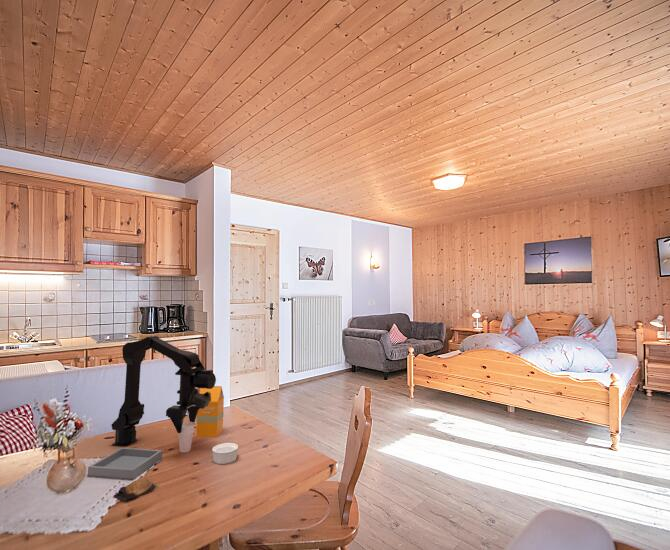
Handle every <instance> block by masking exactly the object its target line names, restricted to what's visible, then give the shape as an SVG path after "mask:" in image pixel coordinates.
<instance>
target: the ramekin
mask: <svg viewBox="0 0 670 550" xmlns="http://www.w3.org/2000/svg"><path fill="white" fill-rule="evenodd" d="M238 449H239V445H238V444H237V443H233V442H225V443H220V444H217V445H214V446H213V447H212V449H211V451H212V458H213V459H212V460H213V462H214V464H217V465H226V464H227V465H228V464H231V463H234V462H235V461H236V460H237V457H238V456H237V455H238Z"/></svg>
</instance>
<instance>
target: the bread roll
mask: <svg viewBox="0 0 670 550" xmlns="http://www.w3.org/2000/svg"><path fill="white" fill-rule="evenodd" d="M159 487H160V485H159V484H155V483H153V482H152V481H150V480H149V479H148V478H145V477H142V478H138V479H136V480H134V481H133V480H132V482H130V483H128V484H127V485H126V486H122V487H120V488H119V490H118V492H117V493H116V494H113V496H112V497H113V498H114V499H116V500H119V501H120V502H122V503H129V504H130V503H132V502H133V501H135V500H136V501H137V500H138V499H140V498H141V497H144V496H146V495H148V494H150V493H151V492H153V491H154V490H155V491H156V489H158V488H159Z"/></svg>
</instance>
